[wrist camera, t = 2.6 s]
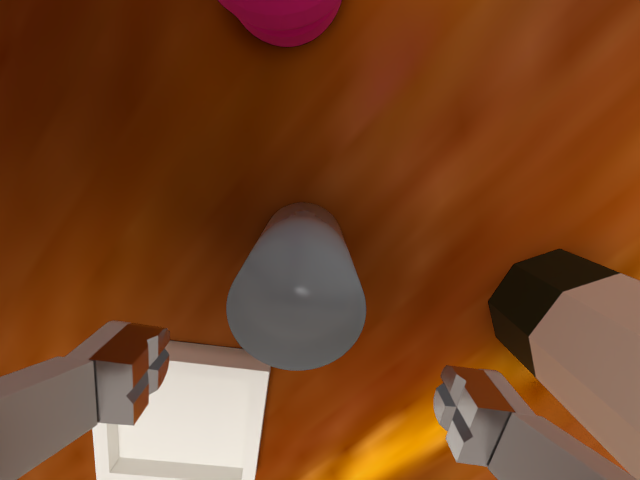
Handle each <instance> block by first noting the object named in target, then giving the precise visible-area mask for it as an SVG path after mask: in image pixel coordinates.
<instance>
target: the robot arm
mask: <svg viewBox="0 0 640 480" xmlns="http://www.w3.org/2000/svg"><path fill="white" fill-rule="evenodd" d="M169 342H170V331H169V330H168V329H167V328H162V327H156V326H149V325H143V324H136V323H129V322H122V321H115V320H114V321H109V322H108V323H106V324H105V325H104V326H103V327H101V328H100V329H99V330H98V331H96V332H95V333H94V334H93V335H91V336H90V337H89V338H88V339H86V340H85V341H84V342H83V343H81V344H80V345H79V346H78V347H76V348H75V349H74V350H73V351H72V352H70V353H69V354H68V355H67V356H65V357H55V358H52V359H50V360H47V361H44V362H41V363H38V364H36V365H33V366H30V367H27V368H24V369H22V370H19V371H16V372H13V373H10V374H8V375H5V376H2V377H0V480H17V479H18V478H20V477H21V476H22V475H24V474H25V473H27V472H28V471H30V470H31V469H33V468H34V467H36V466H37V465H39V464H40V463H42V462H43V461H45V460H46V459H48V458H49V457H51V456H52V455H54V454H55V453H57V452H58V451H59V450H61V449H62V448H64V447H65V446H67V445H68V444H70V443H71V442H73V441H74V440H76V439H77V438H79V437H80V436H82V435H83V434H85V433H86V432H88V431H89V430H91V429H92V428H94V427H95V426H96V425H97V424H98V423H107V424H119V425H132V426H134V425H135V423H136V422H137V420H138V419H139V417H140V416H141V414H142V413H143V411H144V410H145V408H146V407H147V405H148V404H149V395H150V394H152V393H153V392H155V391H157V390H158V389H159V387H160V386H161V384H162V383H163V381H164V378H165V376H166V373H167V371H168V366H169V356H170V355H169V353H168V352H167V350H166V349H165V347H166V346H167V344H168V343H169ZM441 378H442V381H443V384H441V385H440V386H439V387H438V388H436V392H435V395H434V411H435V415H436V418H437V420H438V422H439V424H440V425H441V426H442V427H443V428H444V429H445V430H446V431H448V432H447V435H446V440H447V442H448V445H449V447H450V449H451V451H452V453H453V456H454V458H455V460H456V462H459V463H466V464H472V465H479V466H486V467H488V469H489V470H490V472H491V473H492V474H493V475H494V476H495V477H496V478H497V479H498V480H638V479H636V478H635V477H633V476H632V475H630V474H628V473H627V472H625V471H624V470H622V469H621V468H619V467H618V466H616V465H615V464H613V463H612V462H610V461H609V460H607V459H606V458H604V457H603V456H601V455H600V454H598V453H597V452H595V451H594V450H592V449H591V448H589V447H587V446H586V445H584V444H583V443H581V442H580V441H578V440H577V439H575V438H574V437H572V436H571V435H569V434H568V433H566V432H565V431H563V430H562V429H560V428H559V427H557V426H556V425H554V424H553V423H551V422H549V421H548V420H546V419H545V418H543V417H542V416H536V415H535V413H534V412H533V411H532V410H531V409H530V408H529V406H528V405H527V404H526V403H525V402H524V400H523V399H522V398H521V397H520V396H519V394H518V393H517V392H516V391H515V390H514V388H513V387H512V386H511V385H510V384H509V382H508V381H507V380H506V379H505V378H504V376H503V375H502V374H501V373H499V372H498V371H496V370H487V369H473V368H464V367H456V366H448V365H446V366H445V367H444V369H443V371H442V373H441Z"/></svg>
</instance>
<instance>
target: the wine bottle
mask: <svg viewBox="0 0 640 480" xmlns="http://www.w3.org/2000/svg"><path fill="white" fill-rule="evenodd" d="M488 303H489V308H490V312H491V317H492V322H493V326H494V331H495V335H496V337H497V338H498V339H499V341H500V342H501V343H502V344H503V345H504V346H505V347H506V348H507V349H508V350H509V351H510V352H511V353H512V354H513V355H514V356H515V357H516V358H517V359H518V360H519V361H520V362H521V363H522V364H523V365H524V366H525V367H526V368H527V369H528V370H529V371H530V372H531V373H532V374H533V375H534V376H535V377H536V378H537V379H538V380H539V381H540V382H541V383H542V384H543V385H544V386H545V387H546V388H547V389H548V390H549V392H550V393H551V394H552V395H553V396H554V397H555V398H556V399H557V400H558V401H559V402H560V403H561V404H562V405H563V406H564V407H565V408H566V409H567V410H568V411H569V412H570V413H571V414H572V415H573V416H574V417H575V418H576V419H577V420H578V421H579V422H580V423H581V424H582V425H583V426H584V427H585V428H586V429H587V430H588V431H589V432H590V433H591V434H592V435H593V436H594V437H595V438H596V439H597V440H598V441H599V442H600V444H601V445H602V446H603V447H604V448H605V449H606V450H607V451H608V452H609V453H610V454H611V455H612V456H613V457H614V458H615V459H616V460H617V461H618V462H619V463H620V464H621V465H622V466H623V467H624V468H625V469H626V470H627V471H628V472H629V473H630V474H631V475H632V476H633V477H635V478H636V479H638V480H640V281H639V280H636V279H634V278H631V277H629V276H626V275H624V274H621V273H619V272H616V271H614V270H611V269H609V268H606V267H604V266H602V265H599V264H597V263H594V262H592V261H589V260H587V259H584V258H582V257H579V256H577V255H574V254H572V253H569V252H567V251H564V250H562V249H557V250H554V251H552V252H549V253H546V254H543V255H540V256H537V257H534V258H531V259H528V260H525V261H522V262H519V263H516V264H514V265H513V266H512V268H511V269H510V271H509V272H508V274H507V275H506V276H505V278H504V279H503V281H502V282H501V284H500V285H499V287H498V288H497V289H496V291H495V292H494V294H493V295H492V297H491V298H490V300H489V301H488Z"/></svg>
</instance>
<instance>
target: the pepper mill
mask: <svg viewBox="0 0 640 480" xmlns="http://www.w3.org/2000/svg"><path fill="white" fill-rule="evenodd" d="M218 1H219V2H220V4H222V5H223V6H224V7H225V8H226V9H227V10H229V11H230V12H231V13H233V14H234V15H235V16H236V17H237V18H238V19H239V20H240V22H241V23H242V24H243V25H244V26H245V27H246V29H247V30H248V31H249V32H251V33H252V34H253V35H254V36H256V37H257V38H259V39H260V40H262V41H264V42H267V43H269V44H272V45H276V46H281V47H293V46H299V45H302V44H305V43H308V42H310V41H312V40H314V39H315V38H316V37H318V36H319V35H320V34H322V33H323V32H324V31H325V30H326V29H327V27H328V26H329V25H330V24H331V22H332V21H333V19H334V17H335V16H336V14H337V12H338V9H339V7H340V4H341V1H342V0H218Z"/></svg>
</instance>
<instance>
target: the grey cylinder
mask: <svg viewBox="0 0 640 480" xmlns="http://www.w3.org/2000/svg"><path fill="white" fill-rule="evenodd" d="M365 317H366V302H365V296H364V293H363V290H362V287H361V284H360V281H359V278H358V276H357V273H356V270H355V267H354V265H353V262H352V259H351V256H350V254H349V251H348V248H347V245H346V243H345V240H344V237H343V234H342V231H341V229H340V226H339V224H338V222H337V221H336V219H335V218H334V216H333V215H332V214H331V213H330V212H329V211H327V210H326V209H324V208H323V207H321V206H319V205H316V204H312V203H306V202H299V203H293V204H290V205H287V206H285V207H283V208H281V209H280V210H278V211H277V212H276V213H275V214H274V215H273V216H272V217H271V219H270V220H269V222H268V224H267V225H266V227H265V229H264V230H263V232H262V234H261V236H260V237H259V239H258V241H257V242H256V244H255V246H254V247H253V249H252V251H251V252H250V254H249V256H248V258H247V259H246V261H245V263H244V264H243V266H242V268H241V269H240V271H239V273H238V275H237V276H236V278H235V280H234V281H233V284H232V286H231V288H230V291H229V294H228V298H227V319H228V323H229V326H230V329H231V331H232V333H233V336H234V337H235V339H236V340H237V342H238V343H239V344H240V345H241V347H242V348H243V349H244V350H245V351H246V352H247V353H248V354H250V355H251V356H252V357H254V358H255V359H257V360H259V361H261V362H262V363H264V364H267V365H269V366H272V367H276V368H279V369H285V370H296V371H297V370H309V369H314V368H318V367H322V366H324V365H327V364H329V363H331V362H333V361H335V360H337V359H338V358H339V357H341V356H342V355H344V354H345V353H346V352H347V351H348V350H349V349H350V348H351V347H352V346H353V345H354V343H355V342H356V340H357V339H358V337H359V335H360V333H361V331H362V329H363V326H364V323H365Z"/></svg>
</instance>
